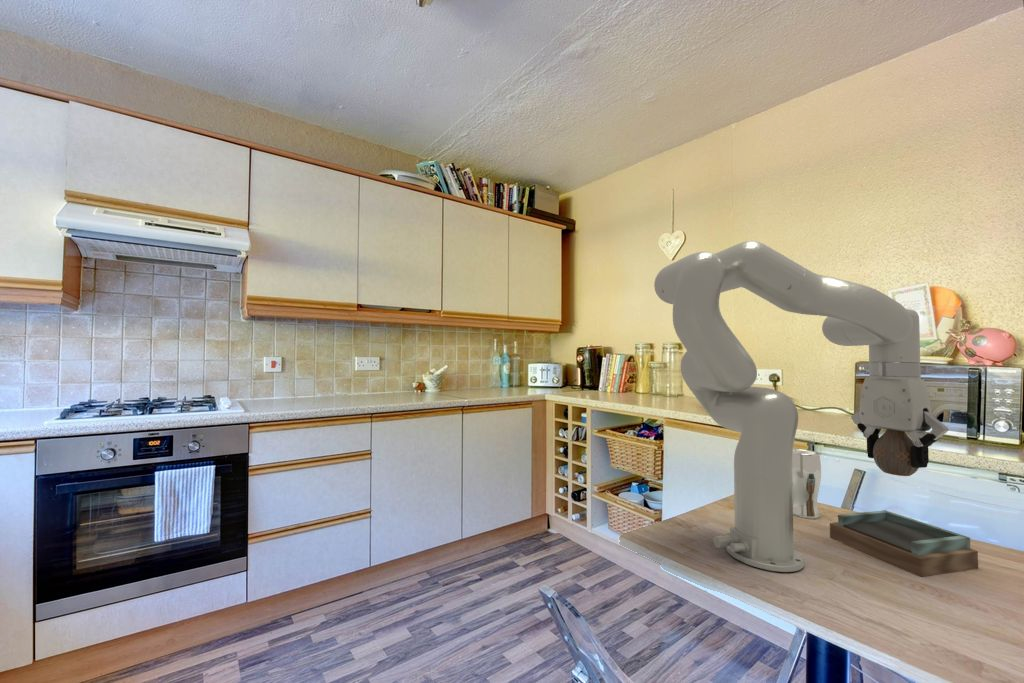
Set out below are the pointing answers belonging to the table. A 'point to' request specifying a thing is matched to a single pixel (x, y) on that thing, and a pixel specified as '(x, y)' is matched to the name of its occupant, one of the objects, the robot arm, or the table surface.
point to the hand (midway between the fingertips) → (896, 461)
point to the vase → (894, 453)
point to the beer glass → (806, 483)
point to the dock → (905, 542)
